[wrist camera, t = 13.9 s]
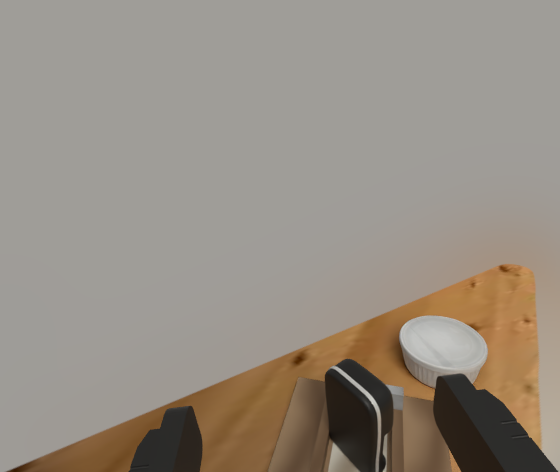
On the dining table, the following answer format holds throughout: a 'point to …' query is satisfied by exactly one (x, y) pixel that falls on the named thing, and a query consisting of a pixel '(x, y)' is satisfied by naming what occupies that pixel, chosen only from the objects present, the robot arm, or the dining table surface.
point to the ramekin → (441, 348)
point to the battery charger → (358, 414)
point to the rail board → (327, 455)
